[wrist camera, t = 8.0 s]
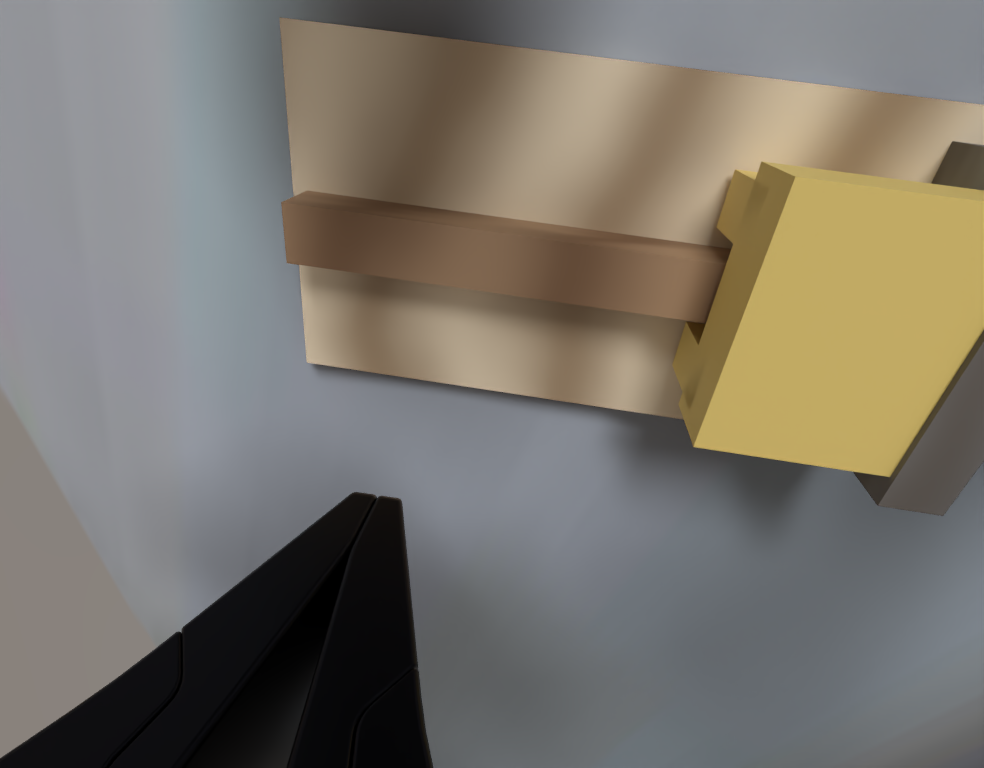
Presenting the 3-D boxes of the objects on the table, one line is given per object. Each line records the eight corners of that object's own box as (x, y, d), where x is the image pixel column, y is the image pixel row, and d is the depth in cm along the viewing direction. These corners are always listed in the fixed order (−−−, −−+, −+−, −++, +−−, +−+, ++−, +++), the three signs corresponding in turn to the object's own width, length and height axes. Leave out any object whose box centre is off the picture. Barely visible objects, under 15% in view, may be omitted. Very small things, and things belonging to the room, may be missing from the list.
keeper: (940, 178, 16) (1059, 211, 12) (827, 399, 20) (890, 477, 16) (740, 151, 16) (795, 176, 13) (668, 376, 21) (693, 447, 17)
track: (1034, 112, 16) (1256, 131, 11) (854, 432, 22) (942, 540, 17) (293, 20, 17) (178, -3, 12) (316, 351, 23) (246, 431, 18)
